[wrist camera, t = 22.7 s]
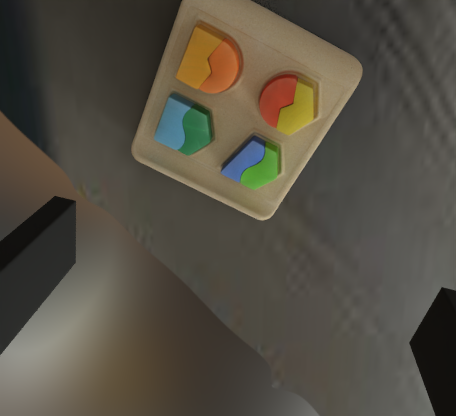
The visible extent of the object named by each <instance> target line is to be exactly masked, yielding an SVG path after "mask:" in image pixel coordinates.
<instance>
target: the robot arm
mask: <svg viewBox="0 0 456 416" xmlns="http://www.w3.org/2000/svg"><path fill="white" fill-rule="evenodd" d="M75 245H76V201H74V200H70V199H65V198H61V197H57V196H54V197H53V198H52V199H51V200H50V201H49V202H47V203H46V204H45V205H44V206H43V207H41V208H40V209H39V210H38V211H36V212H35V213H34V214H33V215H32V216H31V217H29V218H28V219H27V220H26V221H24V222H23V223H22V224H21V225H20V226H18V227H17V228H16V229H15V230H14V231H12V232H11V233H10V234H9V235H7V236H6V237H5V238H4V239H3V240H1V241H0V355H1V354H2V352H3V351H4V350H5V349H6V347H7V346H8V345H9V344H10V343H11V341H12V340H13V339H14V338H15V336H16V335H17V334H18V333H19V331H20V330H21V329H22V328H23V327H24V325H25V324H26V323H27V322H28V320H29V319H30V318H31V317H32V315H33V314H34V313H35V312H36V311H37V309H38V308H39V307H40V305H41V304H42V303H43V302H44V301H45V300H46V298H47V297H48V296H49V295H50V293H51V292H52V291H53V290H54V288H55V287H56V286H57V285H58V284H59V282H60V281H61V280H62V279H63V277H64V276H65V275H66V274H67V273H68V271H69V270H70V269H71V268H72V266H73V265H74V264H75V262H76V260H75V258H76V256H75V255H76V246H75ZM409 344H410V346H411V349H412V352H413V355H414V357H415V360H416V363H417V366H418V368H419V371H420V374H421V377H422V379H423V382H424V385H425V388H426V390H427V393H428V396H429V399H430V401H431V404H432V407H433V410H434V412H435V415H436V416H456V291H455V290H451V289H447V288H443V287H442V288H441V290H440V291H439V293H438V295H437V296H436V298H435V300H434V302H433V303H432V305H431V307H430V308H429V310H428V312H427V313H426V315H425V317H424V319H423V320H422V322H421V324H420V325H419V327H418V329H417V331H416V332H415V334H414V336H413V337H412V339H411V341H410V342H409Z"/></svg>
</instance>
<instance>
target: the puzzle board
mask: <svg viewBox="0 0 456 416" xmlns="http://www.w3.org/2000/svg"><path fill="white" fill-rule="evenodd" d="M362 71H363V70H362V66H361V64H360V62H359V61H358V60H357V59H356V58H355V57H354V56H352V55H350V54H349V53H347V52H345V51H343V50H341V49H339V48H338V47H336V46H334V45H332V44H330V43H328V42H326V41H325V40H323V39H321V38H319V37H317V36H316V35H314V34H312V33H310V32H308V31H306V30H305V29H303V28H301V27H299V26H297V25H295V24H294V23H292V22H290V21H288V20H286V19H284V18H283V17H281V16H279V15H277V14H275V13H273V12H271V11H270V10H268V9H266V8H264V7H262V6H260V5H259V4H257V3H255V2H253V1H251V0H182V2H181V5H180V8H179V11H178V14H177V17H176V20H175V22H174V25H173V28H172V31H171V34H170V37H169V40H168V43H167V45H166V48H165V51H164V54H163V57H162V60H161V63H160V65H159V68H158V71H157V74H156V77H155V80H154V83H153V86H152V89H151V92H150V95H149V97H148V100H147V103H146V106H145V109H144V112H143V115H142V118H141V120H140V123H139V126H138V129H137V132H136V135H135V137H134V140H133V143H132V148H131V151H132V155H133V157H134V158H135V159H136V160H137V161H139V162H141V163H143V164H145V165H147V166H149V167H151V168H153V169H155V170H157V171H159V172H161V173H163V174H165V175H167V176H169V177H171V178H174V179H176V180H178V181H180V182H182V183H184V184H186V185H188V186H190V187H192V188H194V189H196V190H198V191H200V192H202V193H204V194H206V195H208V196H210V197H212V198H215V199H217V200H219V201H221V202H223V203H225V204H227V205H229V206H231V207H233V208H235V209H237V210H239V211H241V212H243V213H245V214H247V215H249V216H251V217H253V218H255V219H258V220H266V219H269V218H270V217H271V216H272V215H273V214H274V212H275V211H276V209H277V208H278V206H279V204H280V203H281V201H282V200H283V198H284V197H285V195H286V194H287V192H288V191H289V189H290V188H291V186H292V185H293V183H294V182H295V180H296V179H297V177H298V176H299V174H300V172H301V171H302V169H303V168H304V166H305V165H306V163H307V162H308V160H309V159H310V157H311V156H312V154H313V153H314V151H315V150H316V148H317V147H318V145H319V144H320V142H321V141H322V139H323V137H324V136H325V134H326V133H327V131H328V130H329V128H330V127H331V125H332V124H333V122H334V121H335V119H336V118H337V116H338V115H339V113H340V112H341V110H342V108H343V107H344V105H345V104H346V102H347V101H348V99H349V98H350V96H351V95H352V93H353V92H354V90H355V89H356V87H357V85H358V83H359V81H360V79H361V77H362Z"/></svg>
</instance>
